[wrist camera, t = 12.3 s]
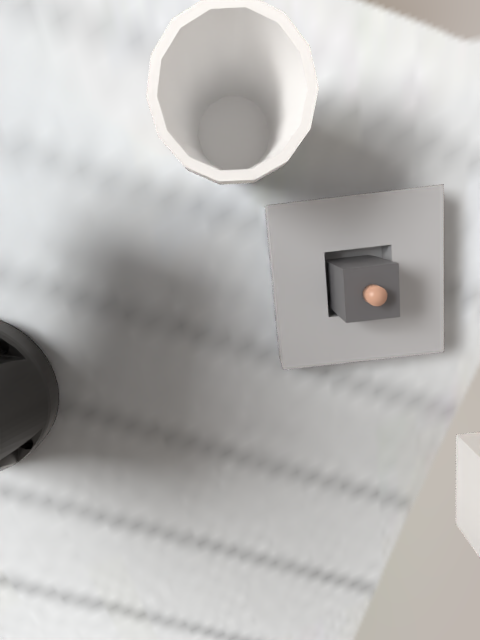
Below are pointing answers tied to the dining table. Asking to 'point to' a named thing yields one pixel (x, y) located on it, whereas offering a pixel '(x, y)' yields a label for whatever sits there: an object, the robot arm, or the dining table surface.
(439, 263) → the socket plate
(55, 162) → the dining table surface
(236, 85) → the foam cup
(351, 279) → the plug
